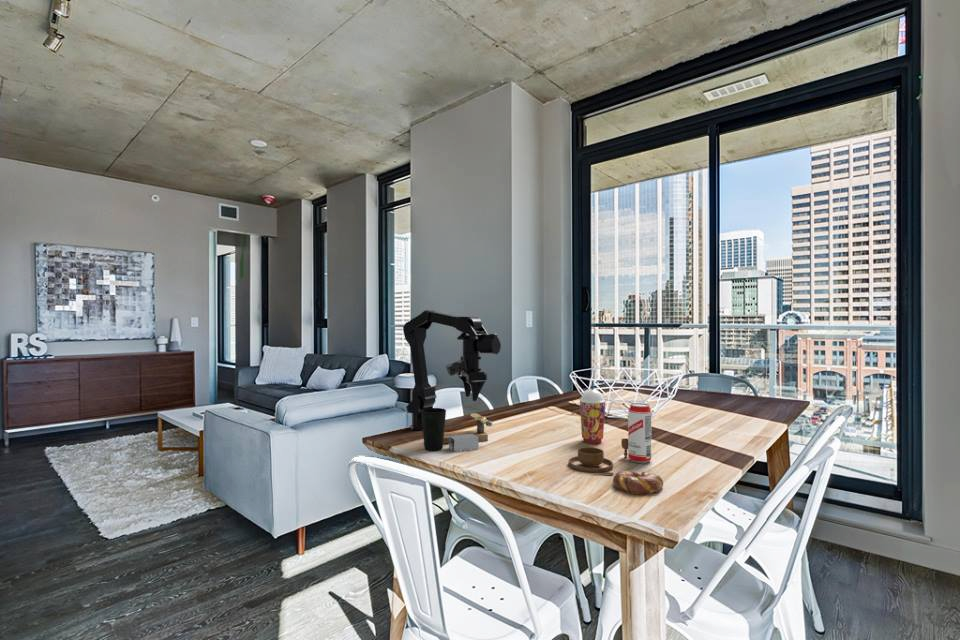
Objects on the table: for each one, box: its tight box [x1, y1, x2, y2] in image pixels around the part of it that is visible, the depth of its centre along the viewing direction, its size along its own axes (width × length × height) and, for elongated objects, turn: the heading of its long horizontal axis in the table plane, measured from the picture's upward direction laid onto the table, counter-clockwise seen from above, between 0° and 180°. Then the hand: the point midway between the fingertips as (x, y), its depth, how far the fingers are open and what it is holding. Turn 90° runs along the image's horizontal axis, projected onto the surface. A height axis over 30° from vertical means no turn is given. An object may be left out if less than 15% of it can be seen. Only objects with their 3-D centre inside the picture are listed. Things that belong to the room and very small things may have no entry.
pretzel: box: [612, 469, 664, 495], centre depth 115 cm, size 12×11×4 cm
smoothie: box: [579, 380, 607, 444], centre depth 157 cm, size 8×8×20 cm
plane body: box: [443, 420, 489, 445], centre depth 158 cm, size 7×17×6 cm, turn 106°
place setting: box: [568, 438, 629, 477], centre depth 131 cm, size 18×20×6 cm
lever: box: [470, 413, 493, 427], centre depth 160 cm, size 4×16×1 cm, turn 19°
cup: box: [421, 407, 447, 452], centre depth 148 cm, size 8×8×12 cm
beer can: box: [627, 402, 652, 464], centre depth 136 cm, size 6×6×16 cm
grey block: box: [448, 434, 479, 452], centre depth 148 cm, size 4×8×4 cm, turn 115°
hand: (470, 398), depth 163 cm, fingers open, 9 cm apart
